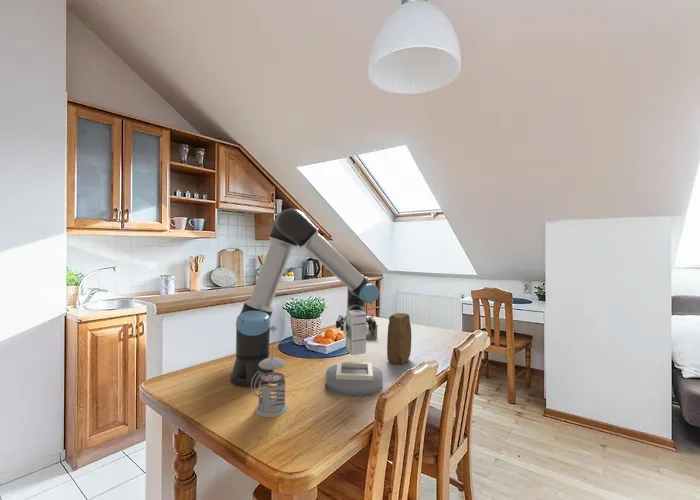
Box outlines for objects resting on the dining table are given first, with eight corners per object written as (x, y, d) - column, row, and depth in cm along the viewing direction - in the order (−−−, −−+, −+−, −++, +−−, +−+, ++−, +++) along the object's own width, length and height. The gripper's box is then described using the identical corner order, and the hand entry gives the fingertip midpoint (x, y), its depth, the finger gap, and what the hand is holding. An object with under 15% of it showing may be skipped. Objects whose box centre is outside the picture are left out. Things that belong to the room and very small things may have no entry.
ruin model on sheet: (355, 336, 183) (355, 318, 183) (358, 335, 186) (358, 317, 186) (374, 340, 177) (374, 321, 177) (376, 339, 180) (377, 320, 180)
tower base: (323, 395, 113) (323, 378, 113) (328, 372, 133) (328, 357, 133) (384, 397, 113) (385, 380, 112) (380, 373, 132) (380, 359, 132)
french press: (295, 408, 104) (296, 326, 103) (261, 423, 95) (263, 333, 94) (275, 398, 110) (276, 320, 110) (242, 410, 102) (244, 326, 101)
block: (400, 366, 141) (401, 317, 140) (384, 361, 145) (386, 314, 145) (413, 359, 149) (414, 313, 148) (398, 355, 154) (399, 310, 153)
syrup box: (366, 353, 121) (367, 312, 120) (350, 355, 119) (351, 313, 118) (359, 348, 126) (360, 309, 126) (344, 350, 124) (345, 310, 123)
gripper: (380, 325, 140) (385, 342, 117) (331, 324, 140) (326, 340, 117) (380, 306, 140) (385, 320, 117) (331, 305, 140) (326, 319, 117)
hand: (356, 330), depth 117 cm, fingers closed on syrup box, 7 cm apart
